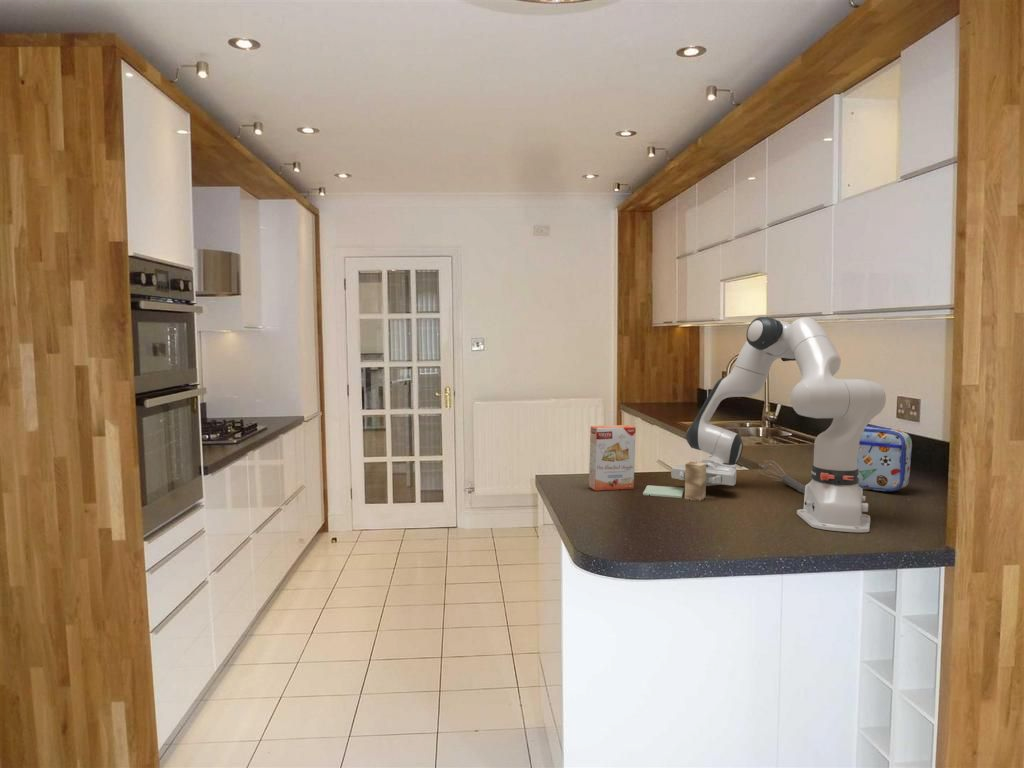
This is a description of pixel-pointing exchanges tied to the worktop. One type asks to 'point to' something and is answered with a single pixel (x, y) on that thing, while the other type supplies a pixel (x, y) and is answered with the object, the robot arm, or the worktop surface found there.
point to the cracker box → (612, 457)
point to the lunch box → (884, 459)
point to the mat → (663, 491)
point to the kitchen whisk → (788, 480)
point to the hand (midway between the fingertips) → (696, 479)
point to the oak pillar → (695, 481)
